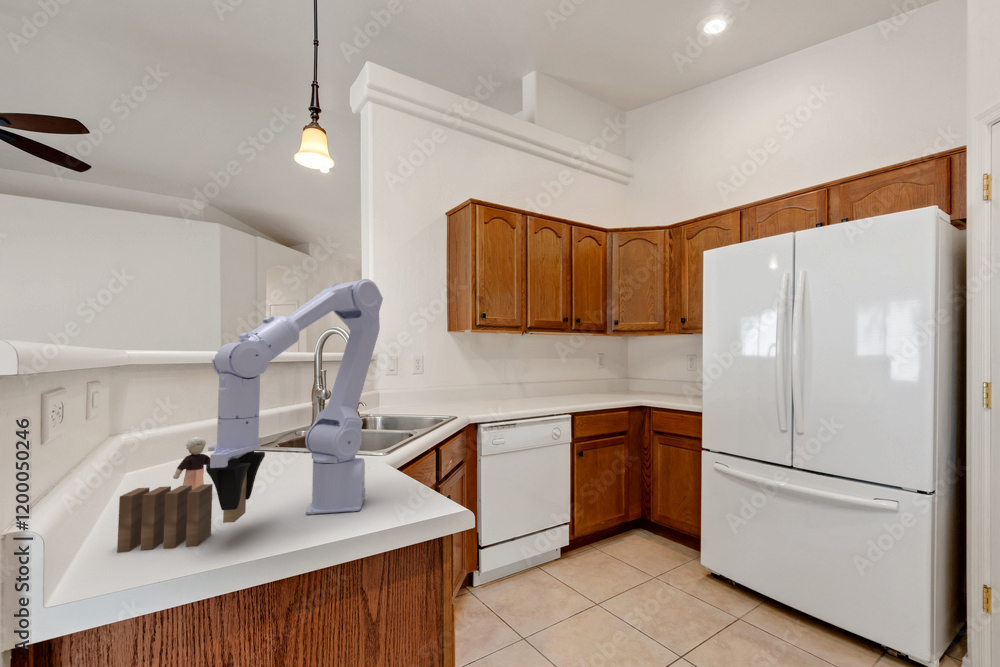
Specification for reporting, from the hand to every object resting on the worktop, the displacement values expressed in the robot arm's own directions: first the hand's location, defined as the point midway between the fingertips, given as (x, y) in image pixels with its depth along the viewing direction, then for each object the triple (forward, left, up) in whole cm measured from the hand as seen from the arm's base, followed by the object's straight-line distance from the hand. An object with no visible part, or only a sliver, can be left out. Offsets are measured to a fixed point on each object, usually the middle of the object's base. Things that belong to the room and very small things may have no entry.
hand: (236, 504), depth 70 cm
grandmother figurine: (+16, -23, -5) cm, 28 cm away
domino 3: (+8, 0, -5) cm, 10 cm away
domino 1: (+14, 0, -5) cm, 15 cm away
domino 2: (+11, 0, -5) cm, 12 cm away
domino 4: (+5, 0, -5) cm, 7 cm away
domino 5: (0, 0, -2) cm, 2 cm away
